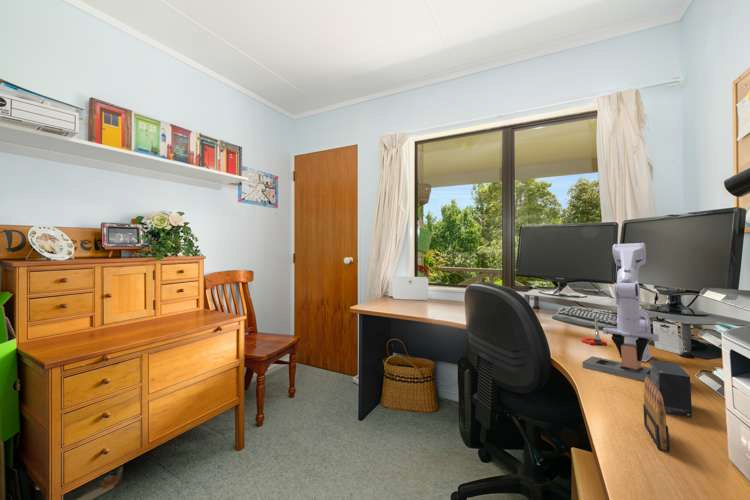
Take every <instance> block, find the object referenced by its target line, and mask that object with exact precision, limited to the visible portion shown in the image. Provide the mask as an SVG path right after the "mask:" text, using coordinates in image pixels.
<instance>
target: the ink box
mask: <svg viewBox="0 0 750 500" xmlns="http://www.w3.org/2000/svg"><path fill="white" fill-rule="evenodd" d="M664 325H665V327H664ZM666 326H667V327H666ZM652 329H653V333H652V334H658V335H659V341H658V342H656V341H653V342H654V348H655V349H657V350H661V351H665V352H668V353H669V352H670V353H674V354H676V355H677V354H678V355H681V354H680V353H681V352H682V351H683V348H684V349H685V345H684V346H683V343H684V340H683V339H682V337H681V336H680V335H679V325H677V324H673V323H666V322H660V321H655V320H653V321H652ZM684 344H685V343H684Z"/></svg>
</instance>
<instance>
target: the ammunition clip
mask: <svg viewBox="0 0 750 500" xmlns="http://www.w3.org/2000/svg"><path fill="white" fill-rule="evenodd" d="M643 383H644V386H643V387H644V390H643V405H642V406H643V410H642V411H643V422H644V424H643V425H644V427H645V429H646V431H647V433H648V432H649V433H648V435H649V436H650V438H651V440H652V439H653V440H652V442H653V443H654V444H656V445H655V447H656V446H657V447H656V448H657V450H658V451H663V452H667V453H668V452H669V453H671V449H670V447H671V446H670V437H669V435H670V433H669V426H668V424H667V413H665V410H664V402H663V397H662V395H661V393H660V391H658V389H657V388H656V387H655V385H654V384H653V383H652V382H651V380H650V379H649V378H648V376H646V378H645V382H643Z"/></svg>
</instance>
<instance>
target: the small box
mask: <svg viewBox="0 0 750 500" xmlns="http://www.w3.org/2000/svg"><path fill="white" fill-rule="evenodd" d="M649 368H650V371H651V382H652V383H653V384H654V385H655V387H656V388H657V389H658V391H660V393H661V395H662V397H663V402H664V410H665V413H666V415H667V414H668V415H673V416H678V417H684V418H690V419H693V409H692V408H693V407H692V386H691V385H692V384H691V375H690V374H689V373H687V372H686V371H685V369H683V367H682V366H681V365H680V364H679V363H673V362H666V361H665V362H664V361H658V360H651V359H649Z"/></svg>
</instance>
